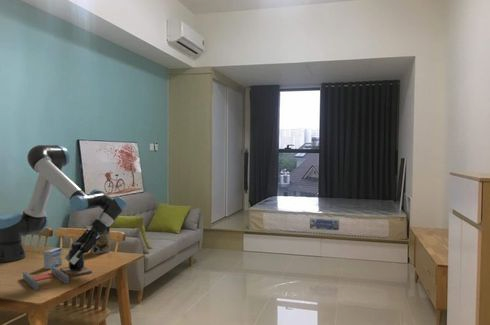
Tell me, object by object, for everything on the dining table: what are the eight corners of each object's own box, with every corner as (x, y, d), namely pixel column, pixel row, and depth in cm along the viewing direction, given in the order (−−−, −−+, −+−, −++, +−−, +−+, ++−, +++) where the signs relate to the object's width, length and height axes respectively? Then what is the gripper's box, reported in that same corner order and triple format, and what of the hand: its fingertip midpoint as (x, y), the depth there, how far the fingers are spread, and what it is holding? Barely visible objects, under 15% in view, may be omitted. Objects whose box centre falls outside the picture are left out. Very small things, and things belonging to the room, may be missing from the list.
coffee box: (93, 254, 220) (93, 226, 219) (90, 252, 225) (90, 224, 224) (109, 252, 226) (110, 224, 225) (105, 249, 231) (105, 222, 230)
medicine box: (51, 269, 192) (51, 252, 192) (43, 268, 193) (43, 251, 193) (62, 264, 200) (61, 248, 200) (54, 264, 201) (54, 247, 201)
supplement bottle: (67, 270, 185) (67, 245, 184) (70, 266, 191) (69, 242, 191) (83, 269, 187) (83, 244, 186) (85, 265, 193) (84, 241, 193)
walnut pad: (60, 270, 191) (60, 268, 191) (81, 266, 198) (81, 264, 198) (70, 277, 181) (70, 275, 181) (91, 272, 188) (91, 270, 188)
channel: (23, 278, 179) (23, 272, 179) (54, 272, 188) (54, 266, 188) (35, 290, 164) (35, 283, 164) (68, 283, 173) (68, 276, 173)
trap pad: (29, 278, 179) (29, 277, 179) (50, 273, 186) (50, 273, 186) (32, 281, 175) (32, 280, 175) (54, 277, 181) (54, 276, 181)
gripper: (115, 230, 191) (82, 270, 181) (99, 224, 206) (67, 261, 196) (105, 221, 188) (70, 261, 177) (89, 215, 202) (56, 252, 192)
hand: (68, 261), depth 186 cm, fingers closed on supplement bottle, 7 cm apart
